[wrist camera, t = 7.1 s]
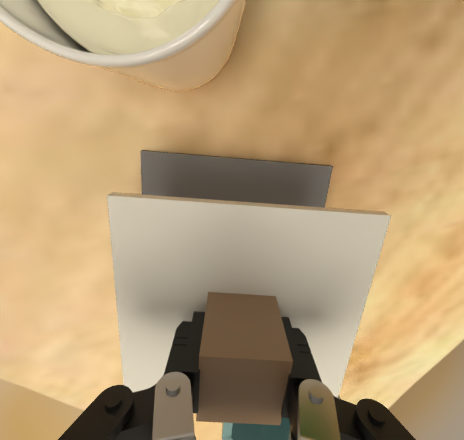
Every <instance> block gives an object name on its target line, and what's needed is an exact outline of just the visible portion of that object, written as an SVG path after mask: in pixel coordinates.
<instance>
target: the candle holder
mask: <svg viewBox="0 0 464 440" xmlns="http://www.w3.org/2000/svg"><path fill="white" fill-rule="evenodd" d="M246 2H247V0H0V22H2V23H3V24H4V25H6V26H7V27H8V28H10V29H11V30H12V31H14V32H15V33H17V34H18V35H20V36H21V37H23V38H24V39H26V40H28V41H29V42H31V43H33V44H35V45H36V46H38V47H40V48H42V49H44V50H46V51H48V52H50V53H53V54H55V55H57V56H60V57H63V58H65V59H68V60H71V61H75V62H78V63H82V64H86V65H91V66H96V67H99V68H102V69H105V70H108V71H111V72H114V73H117V74H119V75H122V76H125V77H128V78H131V79H134V80H137V81H139V82H142V83H145V84H148V85H151V86H154V87H157V88H161V89H164V90H169V91H188V90H192V89H196V88H198V87H201V86H203V85H205V84H206V83H208V82H209V81H211V80H212V79H213V78H214V77H215V76H216V75H217V74H218V73H219V72H220V71H221V70H222V69H223V67H224V66H225V64H226V63H227V61H228V59H229V57H230V55H231V53H232V50H233V48H234V45H235V42H236V38H237V35H238V31H239V28H240V24H241V20H242V16H243V13H244V9H245V5H246Z"/></svg>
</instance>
